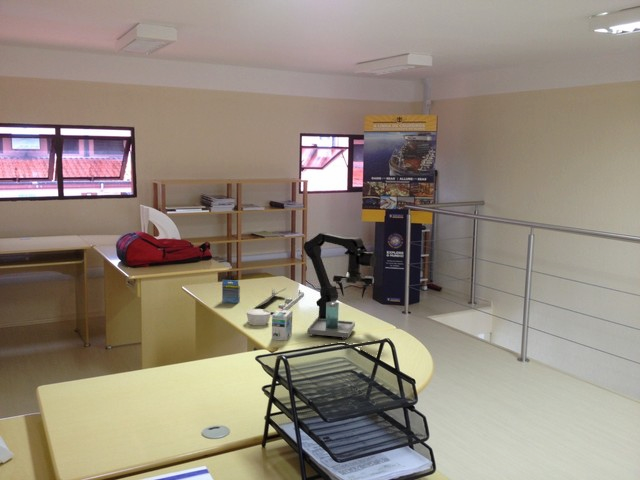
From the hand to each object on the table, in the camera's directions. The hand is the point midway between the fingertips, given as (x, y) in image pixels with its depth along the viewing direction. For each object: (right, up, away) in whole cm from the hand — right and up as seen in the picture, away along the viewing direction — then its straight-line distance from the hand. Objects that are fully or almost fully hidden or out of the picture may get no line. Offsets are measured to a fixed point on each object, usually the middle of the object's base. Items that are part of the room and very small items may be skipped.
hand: (352, 296), depth 284 cm
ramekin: (-45, -12, -2) cm, 46 cm away
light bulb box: (-32, -16, -22) cm, 42 cm away
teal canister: (-10, -12, -16) cm, 22 cm away
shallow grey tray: (-10, -15, -15) cm, 24 cm away
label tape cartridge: (-63, -6, +34) cm, 72 cm away
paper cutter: (-39, -7, +34) cm, 52 cm away
